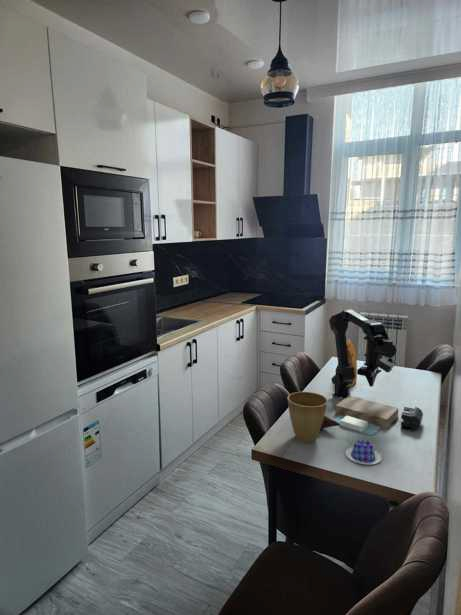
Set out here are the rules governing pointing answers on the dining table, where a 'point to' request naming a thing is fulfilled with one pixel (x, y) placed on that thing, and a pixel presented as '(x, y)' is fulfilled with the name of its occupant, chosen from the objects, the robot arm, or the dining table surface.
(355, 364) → the coffee package
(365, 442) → the pudding
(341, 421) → the white box
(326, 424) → the icecream
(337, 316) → the robot arm
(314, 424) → the plant pot
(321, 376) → the dining table surface
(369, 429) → the mat
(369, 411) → the tan flat block
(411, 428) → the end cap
